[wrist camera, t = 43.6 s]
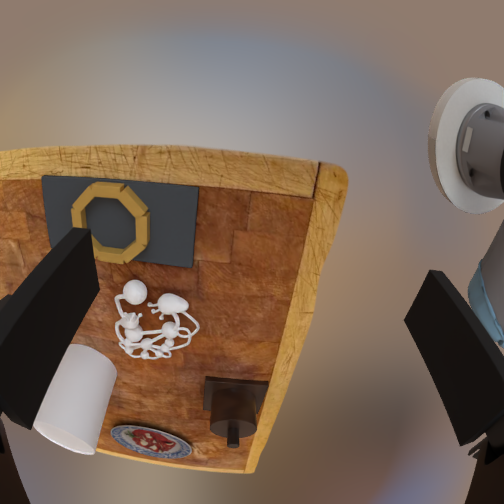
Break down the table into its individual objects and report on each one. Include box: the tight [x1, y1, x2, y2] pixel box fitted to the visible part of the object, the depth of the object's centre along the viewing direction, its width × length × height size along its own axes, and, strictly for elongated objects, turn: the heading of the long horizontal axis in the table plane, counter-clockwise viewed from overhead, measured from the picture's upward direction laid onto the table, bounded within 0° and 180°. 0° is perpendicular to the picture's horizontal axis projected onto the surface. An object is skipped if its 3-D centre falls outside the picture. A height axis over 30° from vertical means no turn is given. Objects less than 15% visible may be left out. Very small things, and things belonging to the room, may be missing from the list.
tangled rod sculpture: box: [115, 280, 199, 359], centre depth 48 cm, size 19×14×4 cm
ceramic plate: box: [111, 425, 192, 458], centre depth 75 cm, size 26×26×3 cm
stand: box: [203, 376, 269, 448], centre depth 56 cm, size 13×13×13 cm
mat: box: [42, 175, 199, 268], centre depth 39 cm, size 24×12×1 cm, turn 81°
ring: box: [71, 182, 150, 264], centre depth 38 cm, size 12×12×2 cm
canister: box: [33, 344, 117, 455], centre depth 48 cm, size 14×14×20 cm
